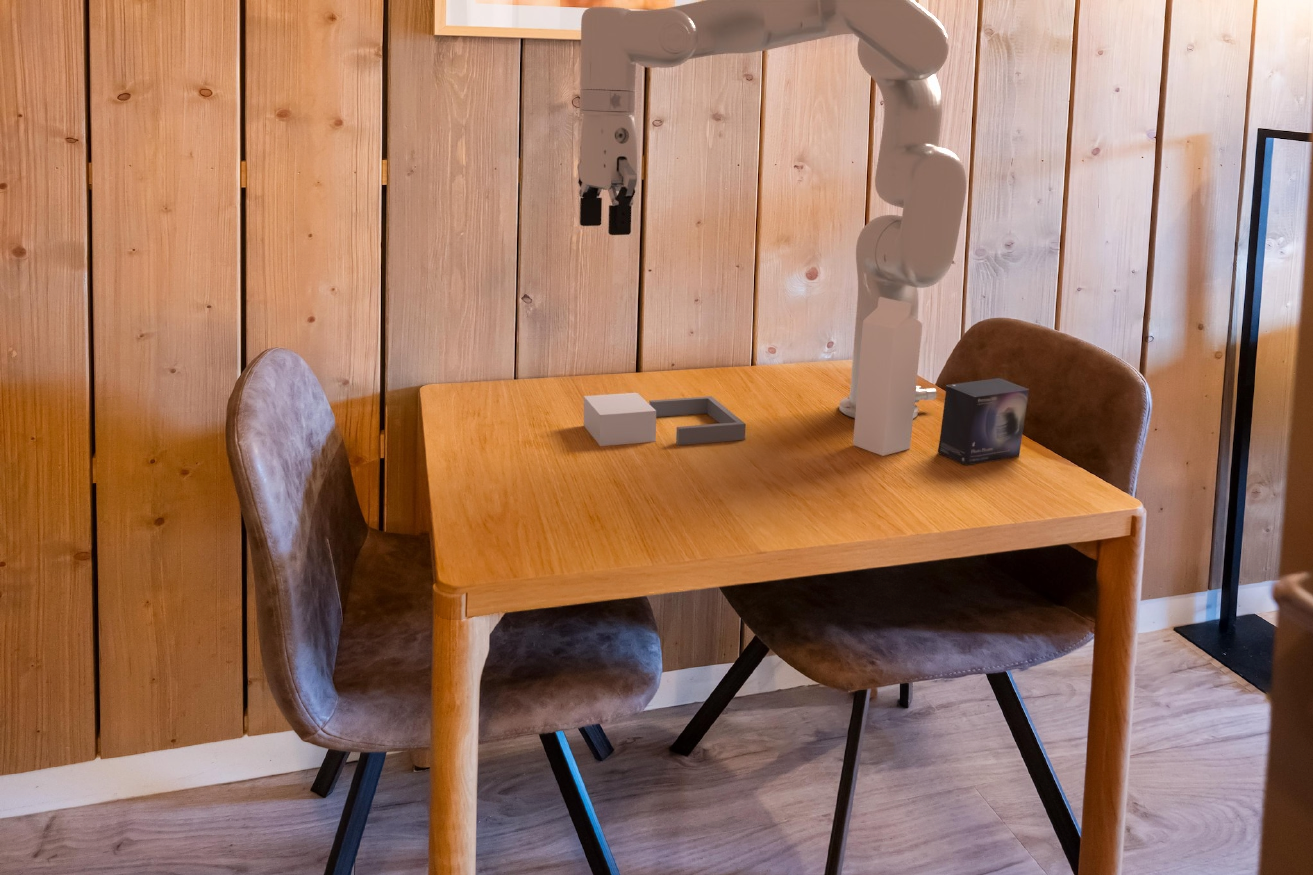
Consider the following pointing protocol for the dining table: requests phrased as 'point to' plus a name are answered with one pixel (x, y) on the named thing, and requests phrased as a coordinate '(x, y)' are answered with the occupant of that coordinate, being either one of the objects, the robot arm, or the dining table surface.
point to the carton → (619, 419)
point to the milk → (887, 378)
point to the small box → (983, 421)
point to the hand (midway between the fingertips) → (604, 230)
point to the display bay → (724, 431)
